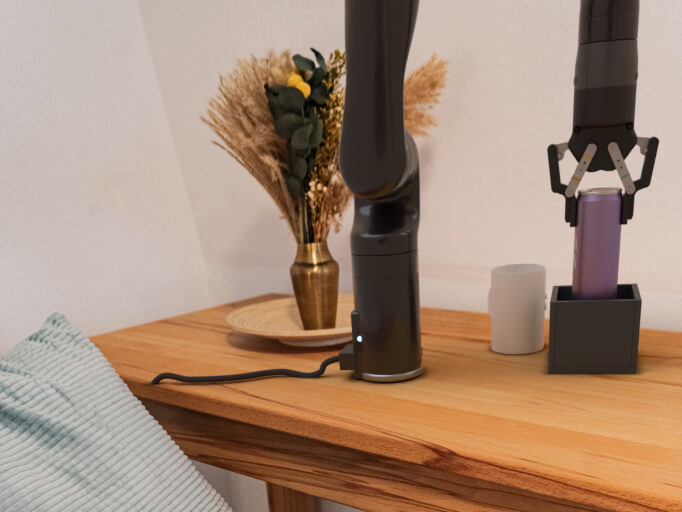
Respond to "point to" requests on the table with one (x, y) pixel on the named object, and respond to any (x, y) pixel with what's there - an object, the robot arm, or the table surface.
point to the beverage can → (597, 243)
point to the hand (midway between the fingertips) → (597, 224)
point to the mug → (517, 308)
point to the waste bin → (594, 332)
